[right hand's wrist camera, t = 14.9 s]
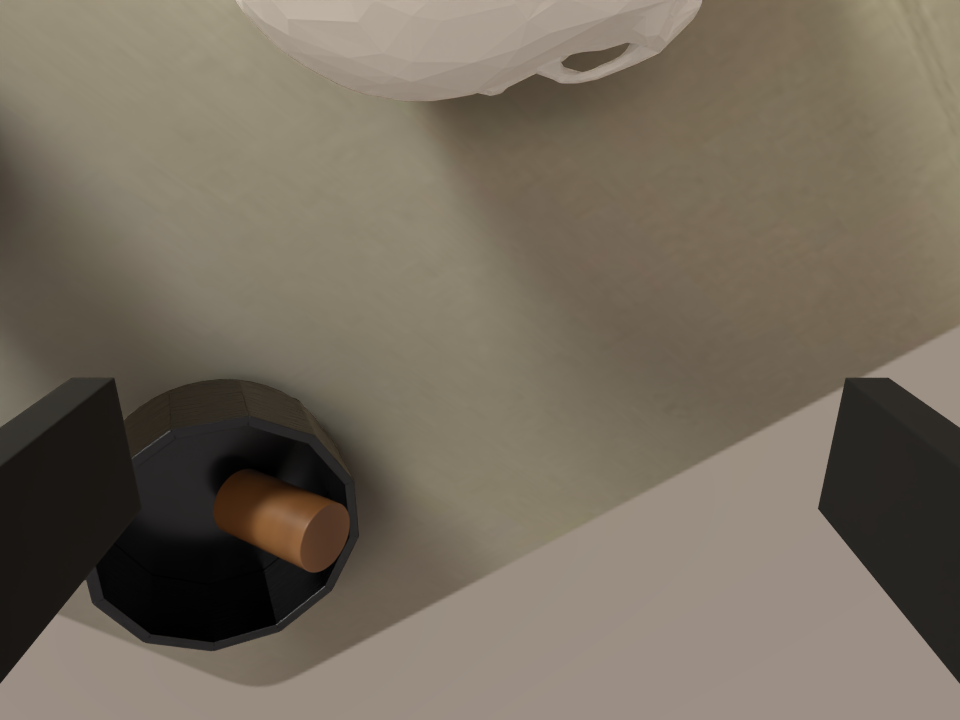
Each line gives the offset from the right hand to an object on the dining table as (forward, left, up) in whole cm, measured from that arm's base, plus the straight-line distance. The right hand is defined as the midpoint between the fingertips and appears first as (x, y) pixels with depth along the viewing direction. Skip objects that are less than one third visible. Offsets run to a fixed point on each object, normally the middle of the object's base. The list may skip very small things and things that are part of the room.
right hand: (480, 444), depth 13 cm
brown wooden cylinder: (-13, -13, -20) cm, 27 cm away
